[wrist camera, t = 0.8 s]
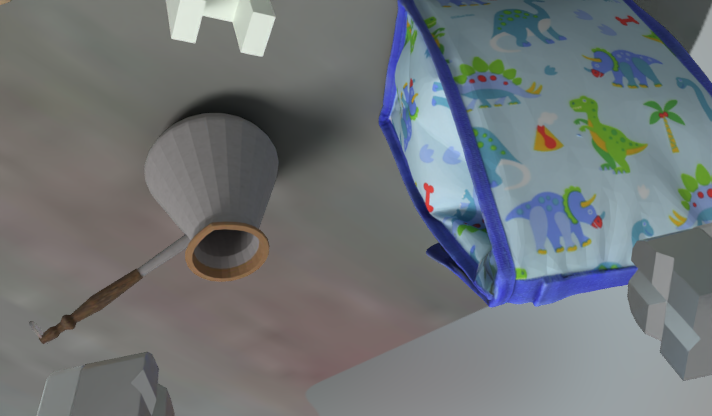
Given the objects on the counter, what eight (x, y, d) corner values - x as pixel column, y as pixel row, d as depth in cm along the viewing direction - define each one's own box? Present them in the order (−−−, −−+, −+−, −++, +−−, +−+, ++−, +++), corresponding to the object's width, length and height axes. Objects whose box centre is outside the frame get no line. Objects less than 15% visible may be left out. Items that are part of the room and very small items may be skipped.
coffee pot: (249, 78, 57) (282, 199, 47) (288, 172, 65) (323, 292, 55) (5, 162, 56) (-15, 303, 46) (76, 246, 65) (72, 381, 54)
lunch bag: (368, 146, 66) (468, 377, 48) (387, -17, 54) (528, 207, 36) (572, 124, 71) (730, 324, 53) (628, -29, 59) (855, 162, 42)
